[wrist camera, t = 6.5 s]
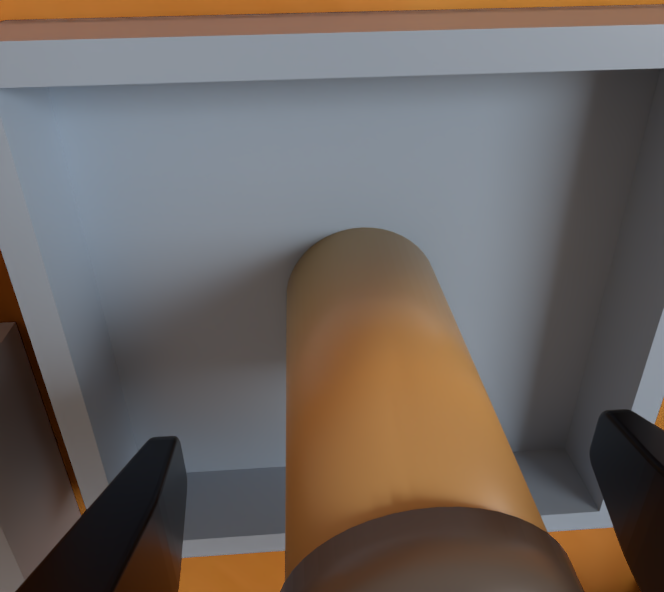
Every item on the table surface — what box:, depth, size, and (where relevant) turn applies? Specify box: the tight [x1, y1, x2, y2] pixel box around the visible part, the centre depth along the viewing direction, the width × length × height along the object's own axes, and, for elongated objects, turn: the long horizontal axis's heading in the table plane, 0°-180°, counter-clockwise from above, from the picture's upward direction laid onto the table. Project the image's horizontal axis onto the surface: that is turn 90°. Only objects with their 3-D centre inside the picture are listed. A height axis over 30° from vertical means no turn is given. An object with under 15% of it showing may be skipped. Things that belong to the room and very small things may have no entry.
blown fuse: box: [280, 227, 584, 592], centre depth 9 cm, size 3×3×8 cm
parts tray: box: [0, 4, 664, 558], centre depth 12 cm, size 12×11×2 cm
